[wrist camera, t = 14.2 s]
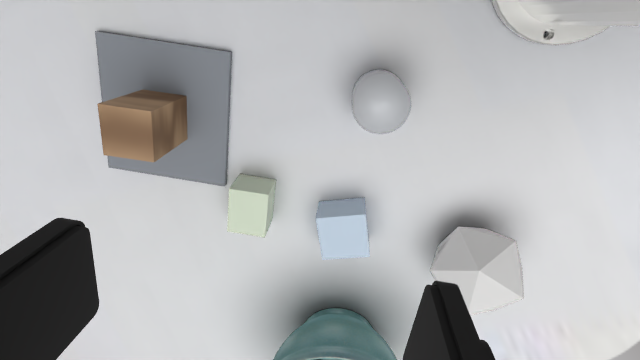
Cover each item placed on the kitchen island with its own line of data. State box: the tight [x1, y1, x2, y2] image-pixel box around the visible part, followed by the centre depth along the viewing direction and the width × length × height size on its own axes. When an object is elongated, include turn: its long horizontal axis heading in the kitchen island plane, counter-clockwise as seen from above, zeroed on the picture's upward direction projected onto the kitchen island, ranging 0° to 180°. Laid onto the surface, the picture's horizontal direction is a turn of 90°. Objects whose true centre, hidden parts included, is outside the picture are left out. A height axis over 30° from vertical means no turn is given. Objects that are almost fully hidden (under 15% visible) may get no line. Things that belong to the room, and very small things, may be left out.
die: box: [430, 226, 524, 315], centre depth 38 cm, size 8×9×10 cm
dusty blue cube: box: [316, 197, 370, 260], centre depth 40 cm, size 5×5×4 cm
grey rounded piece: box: [352, 69, 411, 134], centre depth 34 cm, size 5×5×4 cm
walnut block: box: [98, 90, 188, 162], centre depth 34 cm, size 4×4×7 cm
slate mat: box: [95, 31, 232, 186], centre depth 38 cm, size 14×13×1 cm
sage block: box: [227, 174, 276, 238], centre depth 39 cm, size 5×4×4 cm
